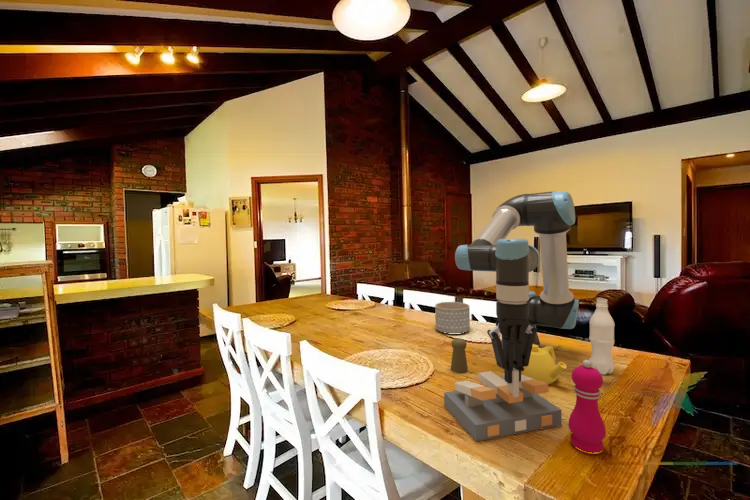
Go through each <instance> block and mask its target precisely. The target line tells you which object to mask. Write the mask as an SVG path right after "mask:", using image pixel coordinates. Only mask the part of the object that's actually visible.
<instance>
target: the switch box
mask: <svg viewBox="0 0 750 500" xmlns="http://www.w3.org/2000/svg"><path fill="white" fill-rule="evenodd" d="M485 386H486V385H485ZM486 387H487V386H486ZM519 391H521V392H522V393H523V401H521V402H515V403H508V402H507V401H505V400H504V399H503V398H501V397H500V396H499V395H498V394H496V398H494V399H488V400H479V399H477V398H474V397H472V396H469V395H467V394H464V393H462V392H459V391H456V390H451V391H445V392H444V393H443V398H444V399H443V403H444V407H445V408H446V410H447V411H448V412H449V413H450V414H451V415H452V416H453V418H454V419H455V420H456V421H457V422H458V424H460V425H461V427H462V428H463V429H464V430H465V432H466V433H468V435H469V436H470V437H471V439H473V440H474V441H475V442H480V441H481V442H482V441H487V440H491V439H496V438H497V439H498V438H502V437H506V436H507V437H508V436H512V435H518V434H522V433H527V432H532V431H538V430H537V429H539V430H542V429H541V428H544V429H548V428H547V427H549V428H553V427H552V426H554V427H559V426H562V409H561V408H560V407H558V406H557V405H555V404H553V403H552V402H551V401H549V400H548V399H545V398H544V396H543V397H542V396H541V395H540V394H534V393H531V392H529V391H526V390H524V389H521V388H519ZM558 425H559V426H558Z"/></svg>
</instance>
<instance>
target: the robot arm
mask: <svg viewBox="0 0 750 500" xmlns="http://www.w3.org/2000/svg"><path fill="white" fill-rule="evenodd" d="M575 223H576V211H575V204H574V200H573V197H572V195H571V194H570V193H569V192H568V191H566V190H563V191H561V190H560V191H555V190H552V191H544V192H535V193H534V192H533V193H522V194H518V195H515V196H513V197H511V198H508V199H507V200H505V201H504V202H502V203H501V204H499V206H497V207H496V208H495V210H494V211H493V213H492V217H491V219H490V220H489V222H488V223H486V225H485V226H484V228H483V229H482V230H481V231H480V233H478V235H477V236H476V238H475V239H474V240H473V242H471V243H470V244H460V245H458V246H457V248H456V250H455V252H454V261H455V265H456V267H457V269H459V270H463V271H470V272H471V271H472V272H475V271H477V272H495V279H496V280H495V286H496V287H495V288H496V289H495V293H496V296H495V298H496V300H497V301H496V302H495V306H496V307H495V308H496V309H495V314H496V318H497V320H496V323H495V327H494V328H492V329H487V331H486V332H487V335H488V336H489V338H490V340H491V345H492V349H493V353H494V358H495V363H496V366H498V367H499V368H501V369H502V370H504V371H503V373H504V375H505V376H504V379H505V381H506V382H507V391H509V392H510V393H511V394H513V397H519V382H520V381H521V371H524V368H523V367H524V366H528V365H529V360H530V355H531V350H532V345H533V344H535V345H538V346H539V348H542V347H541V346H542V345H541V342H540V338H539V336H538V328H537V326H542V327H550V328H557V329H561V330H562V329H564V330H565V329H566V330H572V329H574V328H575V327H576V324H577V323H576V322H577V318H578V313H579V304H580V302H579V301H580V300H579V299H577V298H575V296H574V293H573V292H572V291H570V285H569V270H568V269H569V268H568V252H567V251H568V250H567V249H568V248H567V233H568V232H569V231H570V230H571V226H572V225H575ZM518 227H533V231H534V233H535V234H537V235H538V237H539V249H540V251H539V250H538V249H537V248H536V247H535V246H533V245H531V244H529V241H528V239H526V238H508V236H509V235H510V233H511V231H513V230H515V229H517V228H518ZM540 263H541V274H542V285H543V287H542V289H543V290H542V291H541V292H540V294H539V295H537V293H536V292H535V291H531V290H530V284H529V283H530V282H529V276H530V273H532V271H535V269H536V268H537V267H538V266H539V265H540ZM500 337H501V338H500Z"/></svg>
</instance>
